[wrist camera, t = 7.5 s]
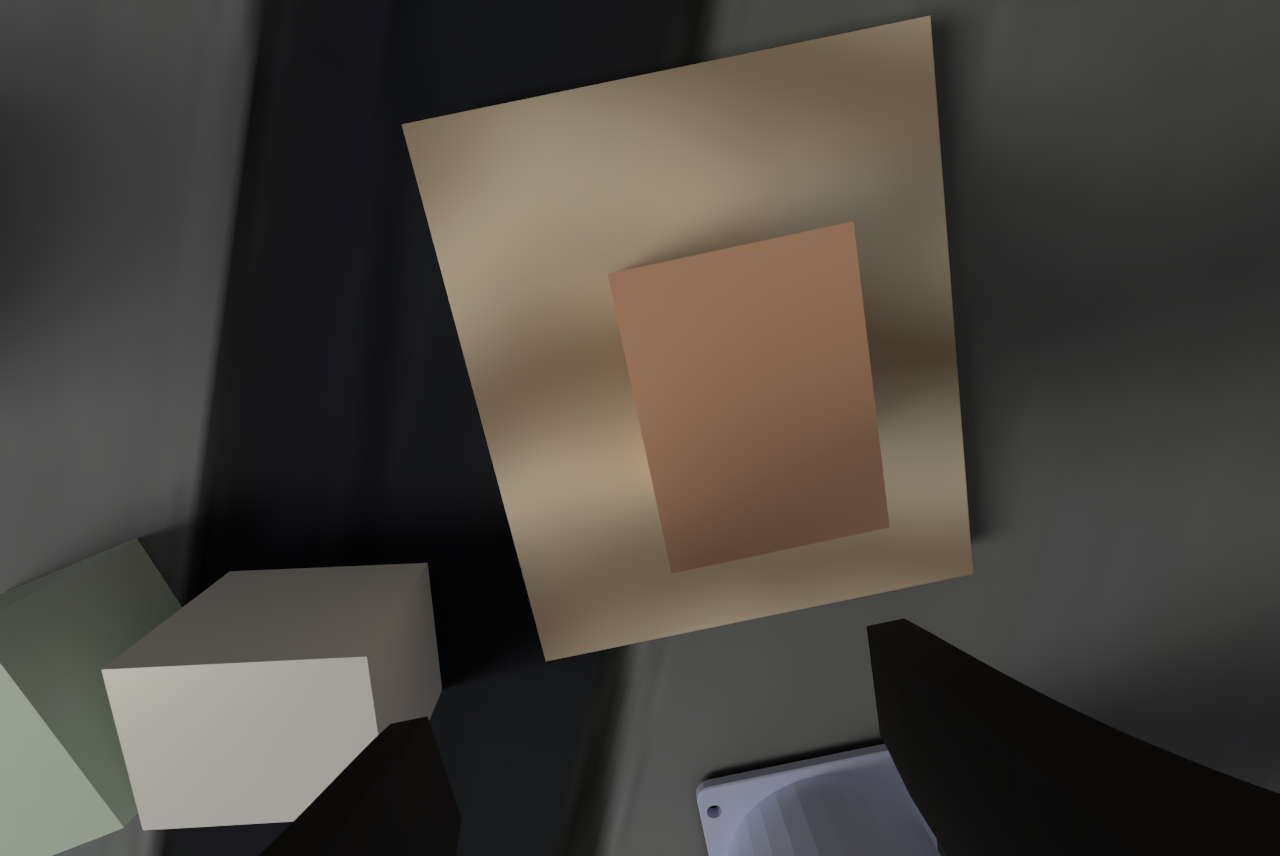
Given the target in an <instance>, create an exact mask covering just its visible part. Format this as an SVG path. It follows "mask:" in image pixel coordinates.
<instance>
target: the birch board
mask: <svg viewBox="0 0 1280 856" xmlns="http://www.w3.org/2000/svg"><path fill="white" fill-rule="evenodd" d="M402 127H403V131H404V135H405V138H406V142H407V146H408V149H409V153H410V157H411V161H412V164H413V168H414V172H415V176H416V179H417V183H418V187H419V190H420V194H421V198H422V202H423V205H424V209H425V213H426V217H427V220H428V224H429V228H430V231H431V235H432V239H433V243H434V246H435V250H436V254H437V258H438V261H439V265H440V269H441V272H442V276H443V280H444V284H445V287H446V291H447V295H448V299H449V302H450V306H451V310H452V313H453V317H454V321H455V325H456V328H457V332H458V336H459V339H460V343H461V347H462V351H463V354H464V358H465V362H466V366H467V369H468V373H469V377H470V380H471V384H472V388H473V392H474V395H475V399H476V403H477V407H478V410H479V414H480V418H481V421H482V425H483V429H484V433H485V436H486V440H487V444H488V448H489V451H490V455H491V459H492V462H493V466H494V470H495V474H496V477H497V481H498V485H499V488H500V492H501V496H502V500H503V503H504V507H505V511H506V515H507V518H508V522H509V526H510V529H511V533H512V537H513V541H514V544H515V548H516V552H517V556H518V559H519V563H520V567H521V570H522V574H523V578H524V582H525V585H526V589H527V593H528V597H529V600H530V604H531V608H532V611H533V615H534V619H535V623H536V626H537V630H538V634H539V637H540V641H541V645H542V649H543V652H544V656H545V660H546V661H550V660H555V659H560V658H565V657H570V656H575V655H580V654H584V653H589V652H594V651H599V650H604V649H609V648H614V647H619V646H624V645H628V644H633V643H638V642H643V641H648V640H653V639H658V638H663V637H668V636H672V635H677V634H682V633H687V632H692V631H697V630H702V629H707V628H711V627H716V626H721V625H726V624H731V623H736V622H741V621H746V620H751V619H755V618H760V617H765V616H770V615H775V614H780V613H785V612H790V611H794V610H799V609H804V608H809V607H814V606H819V605H824V604H829V603H834V602H838V601H843V600H848V599H853V598H858V597H863V596H868V595H873V594H878V593H882V592H887V591H892V590H897V589H902V588H907V587H912V586H917V585H921V584H926V583H931V582H936V581H941V580H946V579H951V578H956V577H961V576H965V575H970V574H973V567H972V554H971V540H970V527H969V514H968V501H967V488H966V475H965V462H964V449H963V436H962V423H961V410H960V397H959V384H958V371H957V358H956V345H955V331H954V318H953V305H952V292H951V279H950V266H949V253H948V240H947V227H946V214H945V201H944V188H943V175H942V162H941V149H940V136H939V123H938V109H937V96H936V83H935V70H934V57H933V44H932V31H931V18H930V16H926V17H921V18H916V19H911V20H907V21H902V22H897V23H892V24H887V25H882V26H878V27H873V28H868V29H863V30H858V31H853V32H848V33H844V34H839V35H834V36H829V37H824V38H819V39H814V40H810V41H805V42H800V43H795V44H790V45H785V46H780V47H776V48H771V49H766V50H761V51H756V52H751V53H746V54H742V55H737V56H732V57H727V58H722V59H717V60H713V61H708V62H703V63H698V64H693V65H688V66H683V67H679V68H674V69H669V70H664V71H659V72H654V73H649V74H645V75H640V76H635V77H630V78H625V79H620V80H615V81H611V82H606V83H601V84H596V85H591V86H586V87H582V88H577V89H572V90H567V91H562V92H557V93H552V94H548V95H543V96H538V97H533V98H528V99H523V100H518V101H514V102H509V103H504V104H499V105H494V106H489V107H484V108H480V109H475V110H470V111H465V112H460V113H455V114H450V115H446V116H441V117H436V118H431V119H426V120H421V121H417V122H412V123H407V124H402ZM853 221H854V229H855V238H856V246H857V255H858V263H859V272H860V280H861V289H862V297H863V306H864V314H865V323H866V331H867V339H868V348H869V356H870V365H871V373H872V382H873V390H874V399H875V407H876V416H877V424H878V433H879V441H880V450H881V458H882V466H883V475H884V483H885V492H886V500H887V509H888V517H889V526H890V527H889V528H885V529H880V530H875V531H870V532H866V533H861V534H856V535H852V536H847V537H842V538H837V539H833V540H828V541H823V542H819V543H814V544H809V545H804V546H800V547H795V548H790V549H785V550H781V551H776V552H771V553H767V554H762V555H757V556H752V557H748V558H743V559H738V560H734V561H729V562H724V563H719V564H715V565H710V566H705V567H701V568H696V569H691V570H686V571H682V572H677V573H671V569H670V564H669V559H668V555H667V550H666V545H665V541H664V536H663V531H662V527H661V522H660V517H659V513H658V508H657V503H656V498H655V494H654V489H653V484H652V480H651V475H650V470H649V466H648V461H647V456H646V452H645V447H644V442H643V438H642V433H641V428H640V424H639V419H638V414H637V409H636V405H635V400H634V395H633V391H632V386H631V381H630V377H629V372H628V367H627V363H626V358H625V353H624V349H623V344H622V339H621V335H620V330H619V325H618V320H617V316H616V311H615V306H614V302H613V297H612V292H611V288H610V283H609V278H608V274H609V273H614V272H619V271H624V270H628V269H633V268H638V267H642V266H647V265H652V264H656V263H661V262H666V261H670V260H675V259H680V258H684V257H689V256H694V255H698V254H703V253H708V252H712V251H717V250H722V249H726V248H731V247H736V246H740V245H745V244H750V243H755V242H759V241H764V240H769V239H773V238H778V237H783V236H787V235H792V234H797V233H801V232H806V231H811V230H815V229H820V228H825V227H829V226H834V225H839V224H843V223H848V222H853Z"/></svg>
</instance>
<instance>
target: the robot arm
mask: <svg viewBox="0 0 1280 856" xmlns="http://www.w3.org/2000/svg"><path fill="white" fill-rule="evenodd" d="M867 633H868V641H869V649H870V657H871V665H872V673H873V681H874V689H875V697H876V705H877V713H878V721H879V729H880V734H881V736H882V739H883V741H884V743H885V744H880V745H876V746H871V747H866V748H861V749H856V750H851V751H846V752H841V753H836V754H832V755H827V756H822V757H817V758H812V759H807V760H802V761H797V762H792V763H788V764H783V765H778V766H773V767H768V768H763V769H758V770H753V771H748V772H744V773H739V774H734V775H729V776H724V777H719V778H714V779H709V780H706V781H703V782H702V783H701V784H699V785H698V787H697V789H696V797H697V803H698V807H699V812H700V817H701V821H702V826H703V831H704V835H705V840H706V845H707V849H708V854H709V856H941V855H940V853H939V851H938V847H937V840H938V842H939V844H940V845H941V847H942V848H943V850H944V852H945V853H946V855H947V856H1280V794H1279V793H1276V792H1273V791H1270V790H1268V789H1265V788H1262V787H1259V786H1256V785H1253V784H1250V783H1248V782H1245V781H1242V780H1240V779H1237V778H1234V777H1232V776H1229V775H1226V774H1224V773H1221V772H1218V771H1216V770H1213V769H1210V768H1208V767H1205V766H1203V765H1200V764H1198V763H1195V762H1193V761H1191V760H1188V759H1186V758H1183V757H1181V756H1178V755H1176V754H1173V753H1171V752H1168V751H1166V750H1164V749H1161V748H1159V747H1156V746H1154V745H1151V744H1149V743H1146V742H1144V741H1142V740H1139V739H1137V738H1135V737H1132V736H1130V735H1128V734H1126V733H1123V732H1121V731H1119V730H1117V729H1114V728H1112V727H1110V726H1108V725H1106V724H1104V723H1101V722H1099V721H1097V720H1095V719H1093V718H1091V717H1089V716H1087V715H1085V714H1082V713H1080V712H1078V711H1076V710H1074V709H1072V708H1070V707H1068V706H1066V705H1064V704H1061V703H1059V702H1057V701H1055V700H1053V699H1051V698H1050V697H1048V696H1046V695H1044V694H1042V693H1040V692H1038V691H1036V690H1034V689H1032V688H1030V687H1028V686H1026V685H1024V684H1022V683H1020V682H1018V681H1016V680H1015V679H1013V678H1011V677H1009V676H1007V675H1005V674H1003V673H1002V672H1000V671H998V670H996V669H994V668H992V667H991V666H989V665H987V664H985V663H983V662H981V661H980V660H978V659H976V658H974V657H972V656H971V655H969V654H967V653H965V652H964V651H962V650H960V649H958V648H956V647H955V646H953V645H951V644H949V643H948V642H946V641H944V640H942V639H940V638H939V637H937V636H935V635H933V634H932V633H930V632H928V631H926V630H924V629H923V628H921V627H919V626H917V625H915V624H913V623H912V622H910V621H908V620H906V619H900V620H895V621H890V622H885V623H880V624H875V625H870V626H867ZM713 805H717V806H718V807H716V808H709V807H711V806H713ZM460 825H461V816H460V813H459V810H458V807H457V804H456V801H455V798H454V795H453V792H452V789H451V786H450V783H449V780H448V777H447V774H446V771H445V768H444V765H443V762H442V759H441V756H440V753H439V750H438V746H437V743H436V740H435V737H434V734H433V731H432V728H431V725H430V722H429V719H428V716H426V717H421V718H416V719H411V720H406V721H402V722H397V723H392V724H390V725H389V726H388V727H387V728H385V729H384V730H383V731H382V732H381V733H380V734H379V735H378V736H377V737H376V738H375V739H374V740H373V741H372V742H371V743H370V744H369V745H368V746H367V747H366V748H365V749H364V750H363V751H362V752H361V753H360V754H359V755H358V756H357V757H356V758H355V759H354V760H353V761H352V762H351V763H350V764H349V765H348V766H347V767H346V768H345V769H344V770H343V771H342V772H341V773H340V774H339V775H338V776H337V777H336V778H335V779H334V781H333V782H332V783H331V784H330V785H329V786H328V787H327V788H326V789H325V790H324V791H323V792H322V793H321V794H320V795H319V796H318V797H317V798H316V799H315V800H314V801H313V802H312V803H311V804H310V805H309V806H308V807H307V808H306V809H305V810H304V811H303V812H302V813H301V814H300V815H299V816H298V817H297V818H296V819H295V821H294V822H293V823H292V824H291V825H290V826H289V827H288V828H287V829H286V830H285V831H284V832H283V833H282V834H281V835H280V836H279V837H278V838H277V839H276V840H275V841H274V842H273V843H271V844H270V845H269V846H268V847H267V848H266V849H265V850H264V851H263V852H262V853H261V854H260V855H259V856H456V853H457V846H458V839H459V832H460Z"/></svg>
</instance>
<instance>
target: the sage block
mask: <svg viewBox="0 0 1280 856" xmlns="http://www.w3.org/2000/svg"><path fill="white" fill-rule="evenodd" d="M181 608H182V606H181V605H180V603H179V602H178V600H177V599H176V597H175V596H174V594H173V593H172V591H171V590H170V588H169V587H168V585H167V583H166V582H165V580H164V579H163V577H162V576H161V574H160V573H159V571H158V570H157V568H156V567H155V565H154V564H153V562H152V561H151V559H150V558H149V556H148V554H147V553H146V551H145V550H144V548H143V547H142V545H141V544H140V542H139V541H138V539H137V538H135V539H133V540H130V541H128V542H125V543H123V544H121V545H118V546H116V547H113V548H111V549H108V550H106V551H103V552H101V553H99V554H96V555H94V556H91V557H89V558H86V559H84V560H82V561H79V562H77V563H74V564H72V565H69V566H67V567H64V568H62V569H60V570H57V571H55V572H52V573H50V574H47V575H45V576H43V577H40V578H38V579H35V580H33V581H30V582H28V583H25V584H23V585H21V586H18V587H16V588H13V589H11V590H8V591H6V592H4V593H2V594H0V856H52V855H55V854H58V853H60V852H63V851H65V850H68V849H70V848H73V847H76V846H78V845H81V844H83V843H86V842H89V841H91V840H94V839H96V838H99V837H101V836H104V835H107V834H109V833H112V832H114V831H117V830H119V829H122V828H124V827H125V826H126V825H127V824H128V823H129V822H130V820H131V819H132V818H133V817H134V816H135V815H136V814H137V813H138V810H137V806H136V802H135V798H134V794H133V791H132V787H131V783H130V779H129V775H128V771H127V767H126V764H125V760H124V756H123V752H122V748H121V744H120V741H119V737H118V733H117V729H116V725H115V721H114V717H113V714H112V710H111V706H110V702H109V698H108V694H107V691H106V687H105V683H104V679H103V675H102V671H101V669H102V668H104V667H105V666H106V665H108V664H109V663H110V662H112V661H113V660H114V659H116V658H117V657H118V656H119V655H121V654H122V653H123V652H125V651H126V650H127V649H129V648H130V647H131V646H133V645H134V644H135V643H137V642H138V641H139V640H140V639H142V638H143V637H144V636H146V635H147V634H148V633H150V632H151V631H152V630H154V629H155V628H156V627H158V626H159V625H160V624H161V623H163V622H164V621H165V620H167V619H168V618H169V617H171V616H172V615H173V614H175V613H176V612H177V611H179V610H180V609H181Z"/></svg>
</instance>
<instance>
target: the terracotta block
mask: <svg viewBox="0 0 1280 856" xmlns="http://www.w3.org/2000/svg"><path fill="white" fill-rule="evenodd" d="M608 278H609V283H610V288H611V292H612V297H613V302H614V306H615V311H616V316H617V320H618V325H619V330H620V335H621V339H622V344H623V349H624V353H625V358H626V363H627V367H628V372H629V377H630V381H631V386H632V391H633V395H634V400H635V405H636V409H637V414H638V419H639V424H640V428H641V433H642V438H643V442H644V447H645V452H646V456H647V461H648V466H649V470H650V475H651V480H652V484H653V489H654V494H655V498H656V503H657V508H658V513H659V517H660V522H661V527H662V531H663V536H664V541H665V545H666V550H667V555H668V559H669V564H670V569H671V573H677V572H682V571H686V570H691V569H696V568H701V567H705V566H710V565H715V564H719V563H724V562H729V561H734V560H738V559H743V558H748V557H752V556H757V555H762V554H767V553H771V552H776V551H781V550H785V549H790V548H795V547H800V546H804V545H809V544H814V543H819V542H823V541H828V540H833V539H837V538H842V537H847V536H852V535H856V534H861V533H866V532H870V531H875V530H880V529H885V528H889V527H890V526H889V517H888V509H887V500H886V492H885V483H884V475H883V466H882V458H881V450H880V441H879V433H878V424H877V416H876V407H875V399H874V390H873V382H872V373H871V365H870V356H869V348H868V339H867V331H866V323H865V314H864V306H863V297H862V289H861V280H860V272H859V263H858V255H857V246H856V238H855V229H854V221H853V222H848V223H843V224H839V225H834V226H829V227H825V228H820V229H815V230H811V231H806V232H801V233H797V234H792V235H787V236H783V237H778V238H773V239H769V240H764V241H759V242H755V243H750V244H745V245H740V246H736V247H731V248H726V249H722V250H717V251H712V252H708V253H703V254H698V255H694V256H689V257H684V258H680V259H675V260H670V261H666V262H661V263H656V264H652V265H647V266H642V267H638V268H633V269H628V270H624V271H619V272H614V273H609V274H608Z"/></svg>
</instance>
